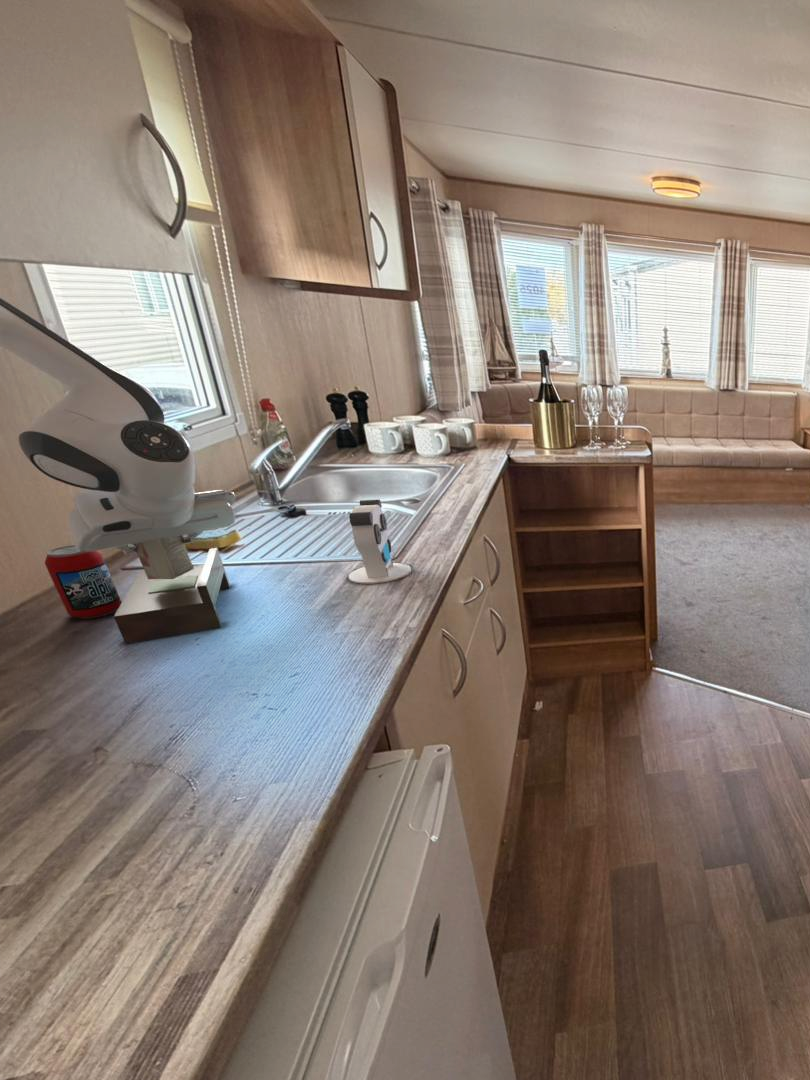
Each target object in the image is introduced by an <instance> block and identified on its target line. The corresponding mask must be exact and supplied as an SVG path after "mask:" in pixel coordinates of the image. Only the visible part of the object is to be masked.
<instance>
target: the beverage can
mask: <svg viewBox="0 0 810 1080" xmlns="http://www.w3.org/2000/svg"><path fill="white" fill-rule="evenodd" d="M44 565H45V568H46V570H47V572H48V574H49V576H50V578H51V581H52V582H53V585H54V588H55V589H56V591H57V594H58V595H59V598H60V600H61V602H62V604H63V606H64V608H65V611H66V612H67V614H68V615H69V616H70V617H74V618H79V619H95V618H100V617H104V616H108V615H111V614H112V613H116V612H117V610H118V608H119V606H120V605H121V603H122V599H121V597H120V595H119V592H118V589H117V587H116V585H115V582H114V580H113V577H112V576H111V575H112V574H111V573H110V571H109V569H108V566H107V564H106V561H105V559H104V556H103V554H102V553H101V552H100V551H99V550H97V551H92V552H83V551H79V550H78V549H77V548H76V547H75V545H74V544H72V545H70V544H69V545H63V546H59V547H56V548H52V549H49V550H48V551H47V552H46V557H45V560H44Z"/></svg>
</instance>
